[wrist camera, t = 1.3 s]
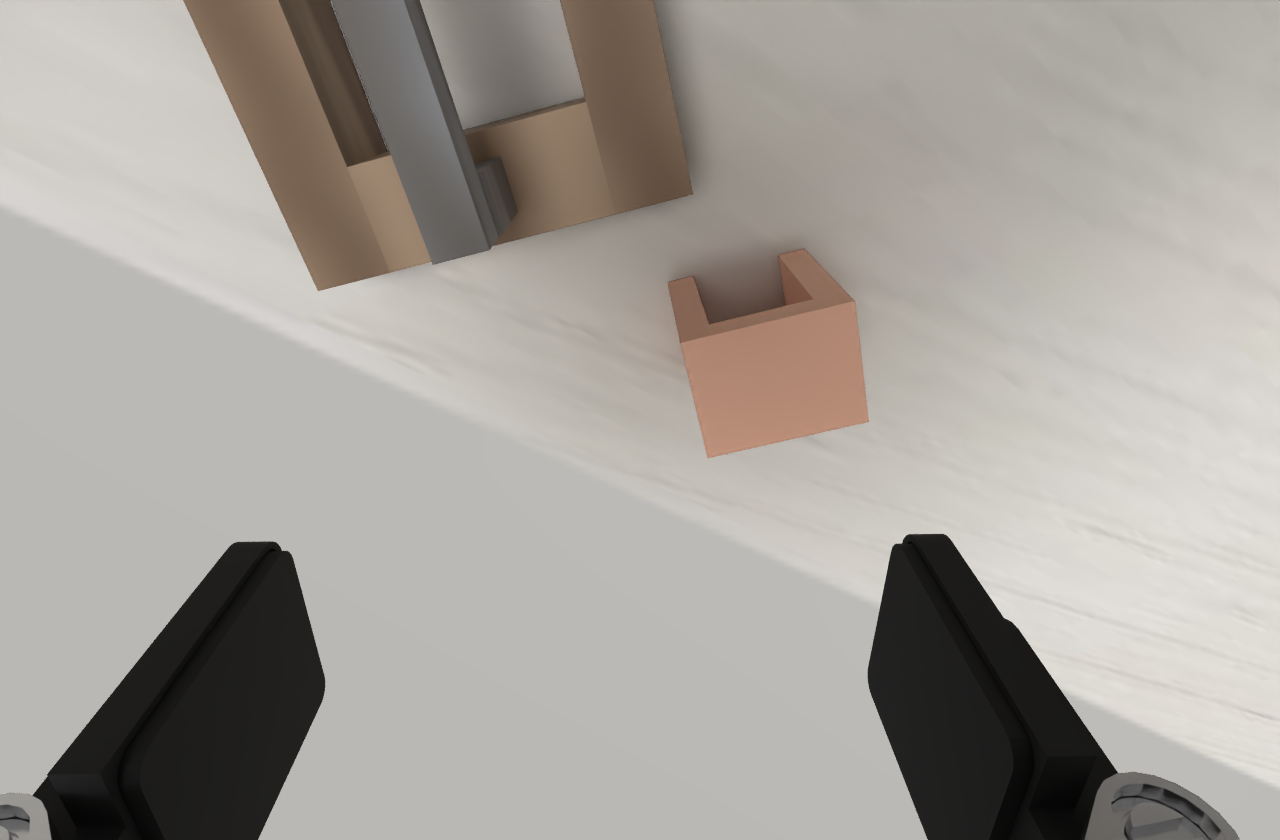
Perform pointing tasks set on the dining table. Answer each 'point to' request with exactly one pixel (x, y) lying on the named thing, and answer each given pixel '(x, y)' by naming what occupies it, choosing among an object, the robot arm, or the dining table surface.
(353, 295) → the dining table surface
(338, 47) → the wooden rectangular frame
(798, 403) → the pink u-channel block
